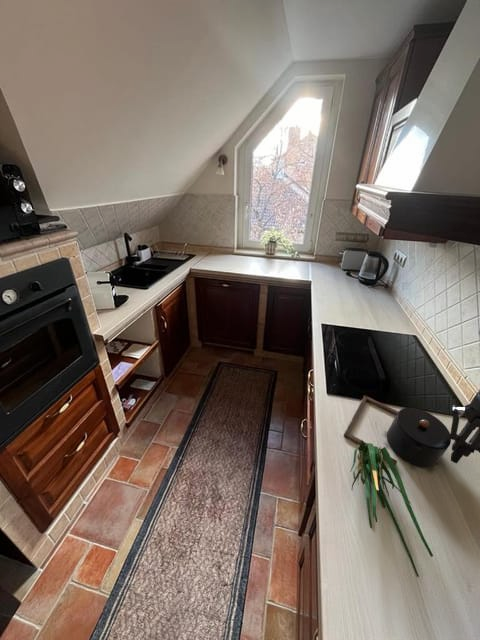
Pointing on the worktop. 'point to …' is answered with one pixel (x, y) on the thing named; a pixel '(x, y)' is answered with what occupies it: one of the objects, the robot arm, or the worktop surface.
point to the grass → (373, 473)
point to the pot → (418, 437)
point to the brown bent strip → (347, 433)
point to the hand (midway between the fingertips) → (453, 458)
